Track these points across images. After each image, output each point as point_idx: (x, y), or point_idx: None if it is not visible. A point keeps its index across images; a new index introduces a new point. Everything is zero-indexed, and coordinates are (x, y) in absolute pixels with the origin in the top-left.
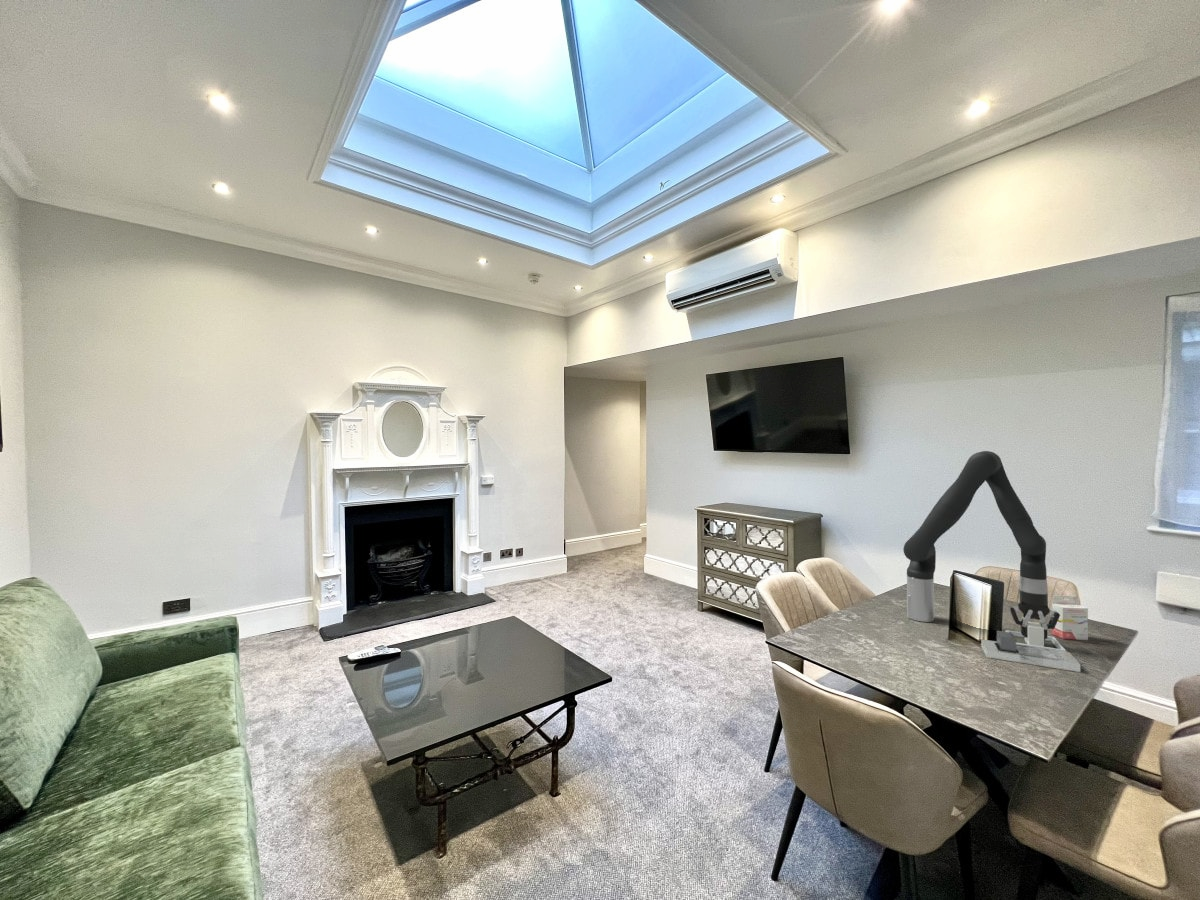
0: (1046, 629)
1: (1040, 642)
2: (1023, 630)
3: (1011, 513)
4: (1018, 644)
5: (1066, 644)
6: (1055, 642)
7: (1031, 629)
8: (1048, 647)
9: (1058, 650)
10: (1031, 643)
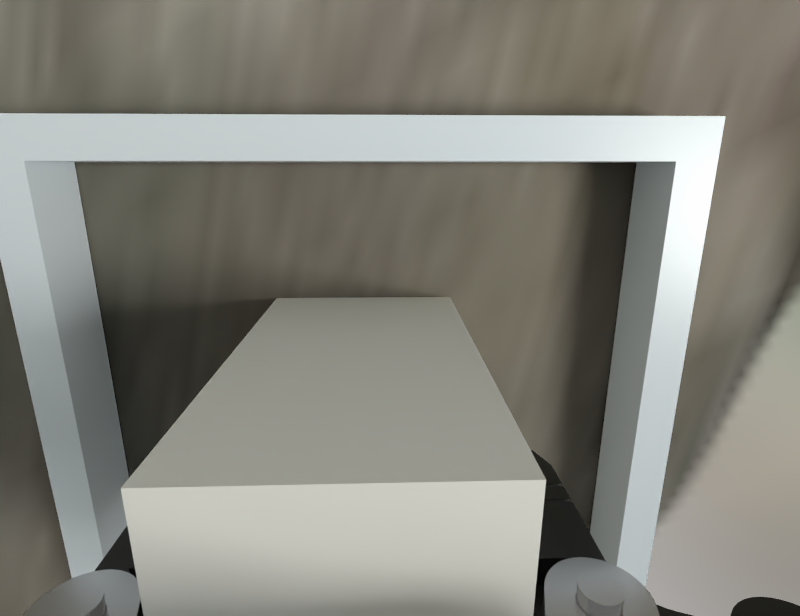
0: (82, 579)
1: (305, 322)
2: (549, 511)
3: None
4: (652, 119)
5: (7, 583)
6: (101, 500)
7: (456, 432)
8: (222, 153)
9: (92, 114)
10: (425, 309)
